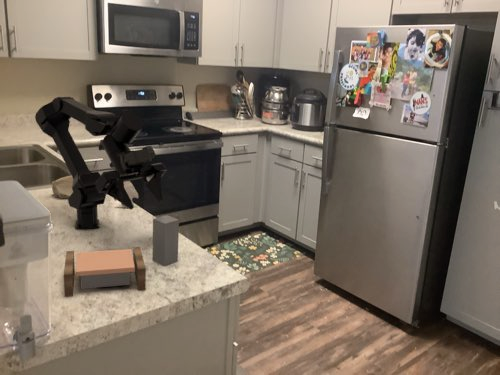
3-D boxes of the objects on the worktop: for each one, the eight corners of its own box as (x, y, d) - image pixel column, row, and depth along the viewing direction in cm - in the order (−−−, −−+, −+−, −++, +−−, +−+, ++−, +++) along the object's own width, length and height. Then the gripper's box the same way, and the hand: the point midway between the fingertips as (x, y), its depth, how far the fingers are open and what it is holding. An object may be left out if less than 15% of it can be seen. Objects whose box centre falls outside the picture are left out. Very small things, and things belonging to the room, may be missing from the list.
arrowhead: (137, 205, 155) (137, 177, 153) (139, 208, 153) (139, 179, 150) (113, 207, 152) (112, 177, 150) (114, 209, 150) (114, 179, 147)
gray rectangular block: (152, 260, 115) (152, 218, 112) (165, 255, 119) (166, 215, 116) (164, 266, 113) (165, 223, 110) (177, 260, 116) (178, 219, 113)
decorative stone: (98, 198, 161) (97, 175, 159) (53, 200, 155) (51, 177, 153) (95, 191, 168) (95, 169, 166) (52, 193, 162) (51, 171, 160)
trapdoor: (77, 268, 106) (76, 252, 105) (131, 264, 110) (131, 249, 109) (75, 289, 97) (75, 271, 96) (134, 284, 101) (134, 267, 100)
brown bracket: (67, 271, 107) (66, 251, 105) (140, 266, 112) (140, 246, 110) (64, 296, 96) (63, 274, 94) (145, 289, 101) (145, 268, 100)
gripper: (101, 139, 108) (131, 195, 104) (162, 132, 122) (190, 181, 119) (83, 165, 115) (110, 219, 111) (143, 156, 129) (169, 203, 125)
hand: (147, 204), depth 116 cm, fingers open, 9 cm apart
